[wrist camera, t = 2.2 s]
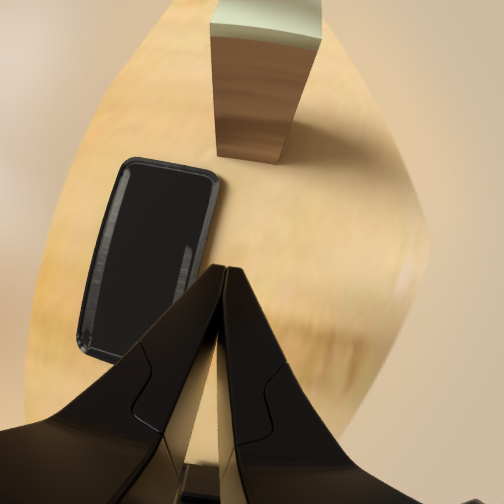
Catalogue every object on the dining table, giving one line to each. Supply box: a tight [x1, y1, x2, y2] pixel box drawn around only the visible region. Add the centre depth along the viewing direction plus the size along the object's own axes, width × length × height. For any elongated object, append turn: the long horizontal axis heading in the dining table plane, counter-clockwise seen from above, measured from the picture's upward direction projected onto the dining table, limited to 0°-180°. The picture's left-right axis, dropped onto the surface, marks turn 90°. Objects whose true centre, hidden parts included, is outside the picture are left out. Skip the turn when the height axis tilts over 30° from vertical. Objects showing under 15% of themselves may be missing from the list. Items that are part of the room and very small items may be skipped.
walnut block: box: [210, 0, 322, 165], centre depth 16 cm, size 4×4×13 cm
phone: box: [76, 157, 220, 365], centre depth 21 cm, size 8×1×15 cm
